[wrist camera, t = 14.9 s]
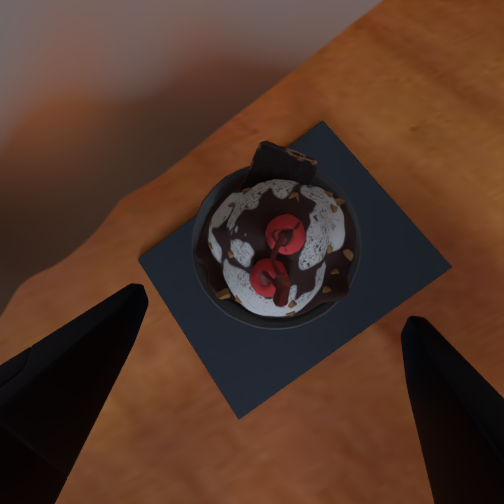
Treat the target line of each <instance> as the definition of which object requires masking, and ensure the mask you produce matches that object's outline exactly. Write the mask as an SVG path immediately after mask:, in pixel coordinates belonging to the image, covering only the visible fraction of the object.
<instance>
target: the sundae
mask: <svg viewBox="0 0 504 504" xmlns="http://www.w3.org/2000/svg"><path fill="white" fill-rule="evenodd" d="M361 249H362V242H361V231H360V226H359V222H358V217H357V215H356V213H355V211H354V208H353V206H352V204H351V202H350V201H349V199H348V197H347V196H346V194H345V193H344V191H343V189H341V188H340V187H339V186H338V185H337V184H336V183H335V182H334V181H333V180H332V179H331V178H329V177H328V176H326V175H325V174H323V173H322V172H320V171H319V170H317V161H316V160H315V159H313V158H311V157H308V156H306V155H304V154H302V153H299V152H297V151H295V150H292V149H289V148H285V147H281V146H278V145H276V144H274V143H271V142H269V141H263V142H260V144H259V146H258V148H257V150H256V153H255V155H254V157H253V160H252V162H251V165H250V166H248V167H245V168H242V169H240V170H237V171H235V172H234V173H232V174H230V175H228V176H226V177H224V178H223V179H222V180H221V181H220V182H219V183H218V184H217V185H216V186H215V187H213V189H212V190H211V191H210V192H209V194H208V195H207V196H206V197H205V199H204V200H203V202H202V204H201V206H200V209H199V211H198V213H197V216H196V219H195V223H194V226H193V233H192V260H193V267H194V270H195V273H196V276H197V279H198V281H199V283H200V285H201V287H202V289H203V291H204V293H205V294H206V295H207V296H208V297H209V298H210V300H211V301H212V302H213V303H214V304H215V305H216V306H217V307H218V308H219V309H221V310H222V311H223V312H224V313H225V314H226V315H228V316H230V317H232V318H234V319H236V320H238V321H240V322H242V323H244V324H247V325H250V326H253V327H255V328H262V329H269V330H280V329H289V328H295V327H299V326H302V325H304V324H307V323H309V322H312V321H313V320H315V319H317V318H319V317H321V316H322V315H324V314H326V313H327V312H328V311H329V310H331V309H332V308H333V307H334V306H335V305H336V304H337V303H338V302H339V301H341V300H344V299H345V298H346V297H347V296H348V294H349V291H350V287H351V285H352V283H353V280H354V278H355V276H356V273H357V271H358V267H359V264H360V260H361Z"/></svg>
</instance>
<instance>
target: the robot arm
mask: <svg viewBox="0 0 504 504" xmlns="http://www.w3.org/2000/svg"><path fill="white" fill-rule="evenodd" d="M147 307H148V297H147V295H146V292H145V289H144V286H143V285H141V284H134V283H132V284H129V285H127V286H126V287H124V288H123V289H121V290H119V291H118V292H116V293H115V294H113V295H112V296H110V297H108V298H107V299H105V300H104V301H102V302H100V303H99V304H97V305H96V306H94V307H93V308H91V309H89V310H88V311H86V312H85V313H83V314H81V315H80V316H78V317H77V318H75V319H74V320H72V321H70V322H69V323H67V324H66V325H64V326H62V327H61V328H59V329H58V330H56V331H55V332H53V333H51V334H50V335H48V336H47V337H45V338H43V339H42V340H40V341H39V342H37V343H35V344H34V345H32V347H29V348H27V349H26V350H24V351H23V352H21V353H20V354H18V355H16V356H15V357H13V358H11V359H10V360H8V361H6V362H5V363H3V364H2V365H0V504H55V502H56V500H57V498H58V496H59V494H60V492H61V490H62V488H63V486H64V484H65V482H66V480H67V477H68V476H69V474H70V472H71V470H72V468H73V466H74V464H75V462H76V460H77V458H78V456H79V454H80V452H81V449H82V447H83V445H84V443H85V441H86V439H87V437H88V435H89V433H90V431H91V429H92V427H93V425H94V423H95V421H96V419H97V417H98V415H99V413H100V411H101V409H102V407H103V405H104V403H105V401H106V399H107V397H108V395H109V393H110V391H111V389H112V387H113V385H114V383H115V381H116V379H117V377H118V375H119V373H120V371H121V369H122V367H123V365H124V363H125V361H126V359H127V357H128V355H129V353H130V351H131V349H132V347H133V345H134V342H135V340H136V337H137V334H138V332H139V329H140V326H141V324H142V321H143V318H144V316H145V313H146V310H147ZM401 343H402V352H403V360H404V369H405V377H406V384H407V389H408V394H409V398H410V402H411V407H412V411H413V415H414V419H415V423H416V428H417V432H418V436H419V440H420V444H421V449H422V453H423V457H424V461H425V465H426V470H427V474H428V478H429V482H430V486H431V491H432V495H433V499H434V503H435V504H504V398H503V397H502V396H501V395H500V394H499V393H498V392H497V391H496V390H495V389H494V388H493V387H492V386H491V385H490V384H489V383H488V382H487V381H486V380H485V379H484V378H483V377H482V376H481V375H480V374H479V373H478V372H477V370H476V369H475V368H474V367H473V366H472V365H471V364H470V363H469V362H468V361H467V360H466V359H465V358H464V357H463V356H462V355H461V354H460V353H459V352H458V351H457V350H456V349H455V348H454V347H453V346H452V345H451V344H450V343H449V342H448V341H447V340H446V339H445V338H444V337H443V336H442V335H441V334H440V332H439V331H438V330H437V329H436V328H435V327H434V326H433V325H432V324H431V323H430V322H429V321H428V320H427V319H426V318H424V317H419V316H410V317H409V318H408V320H407V322H406V324H405V326H404V328H403V330H402V333H401Z"/></svg>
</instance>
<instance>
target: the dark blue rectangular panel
mask: <svg viewBox="0 0 504 504" xmlns="http://www.w3.org/2000/svg"><path fill="white" fill-rule="evenodd" d="M287 148H289V149H292V150H295V151H297V152H299V153H302V154H304V155H306V156H308V157H311V158H313V159H315V160H316V161H317V170H319V171H320V172H322V173H323V174H325V175H326V176H328V177H329V178H331V179H332V180H333V181H334V182H335V183H336V184H337V185H338V186H339V187H340V188H341V189H343V191H344V193H345V194H346V196H347V197H348V199H349V201H350V202H351V204H352V206H353V208H354V211H355V213H356V215H357V217H358V222H359V226H360V231H361V242H362V249H361V260H360V264H359V267H358V271H357V273H356V276H355V278H354V280H353V283H352V285H351V287H350V291H349V294H348V296H347V297H346V298H345V299H344V300H341V301H339V302H338V303H337V304H336V305H335V306H334V307H333V308H332V309H331V310H329V311H328V312H327V313H326V314H324V315H322V316H321V317H319V318H317V319H315V320H313V321H312V322H309V323H307V324H304V325H302V326H299V327H295V328H289V329H280V330H269V329H262V328H255V327H253V326H250V325H247V324H244V323H242V322H240V321H238V320H236V319H234V318H232V317H230V316H228V315H226V314H225V313H224V312H223V311H222V310H221V309H219V308H218V307H217V306H216V305H215V304H214V303H213V302H212V301H211V300H210V298H209V297H208V296H207V295H206V294H205V293H204V291H203V289H202V287H201V285H200V283H199V281H198V279H197V276H196V273H195V270H194V267H193V260H192V233H193V226H194V223H195V219H196V216H197V215H196V216H195V217H194V218H192V219H191V220H190V221H188V222H187V223H186V224H184V225H183V226H182V227H180V228H179V229H178V230H176V231H175V232H174V233H172V234H171V235H170V236H168V237H167V238H165V239H164V240H163V241H161V242H160V243H159V244H157V245H156V246H155V247H153V248H152V249H151V250H149V251H148V252H147V253H145V254H144V255H143V256H141V257H140V258H139V259H138V261H139V262H140V264H141V266H142V267H143V269H144V270H145V272H146V273H147V275H148V277H149V278H150V280H151V281H152V283H153V285H154V286H155V288H156V289H157V291H158V292H159V294H160V296H161V297H162V299H163V300H164V302H165V304H166V305H167V307H168V308H169V310H170V311H171V313H172V315H173V316H174V318H175V319H176V321H177V323H178V324H179V326H180V327H181V329H182V330H183V332H184V334H185V335H186V337H187V338H188V340H189V342H190V343H191V345H192V346H193V348H194V349H195V351H196V353H197V354H198V356H199V357H200V359H201V361H202V362H203V364H204V365H205V367H206V368H207V370H208V372H209V373H210V375H211V376H212V378H213V380H214V381H215V383H216V384H217V386H218V387H219V389H220V391H221V392H222V394H223V395H224V397H225V399H226V400H227V402H228V403H229V405H230V406H231V408H232V410H233V411H234V413H235V414H236V416H237V418H238V419H241V418H242V417H243V416H245V415H246V414H248V413H249V412H250V411H252V410H253V409H255V408H256V407H257V406H259V405H260V404H261V403H263V402H264V401H266V400H267V399H268V398H270V397H271V396H273V395H274V394H275V393H277V392H278V391H280V390H281V389H282V388H284V387H285V386H287V385H288V384H289V383H291V382H292V381H294V380H295V379H296V378H298V377H299V376H301V375H302V374H303V373H305V372H306V371H308V370H309V369H310V368H312V367H313V366H315V365H316V364H317V363H319V362H320V361H322V360H323V359H324V358H326V357H327V356H329V355H330V354H331V353H333V352H334V351H335V350H337V349H338V348H340V347H341V346H342V345H344V344H345V343H347V342H348V341H349V340H351V339H352V338H354V337H355V336H356V335H358V334H359V333H361V332H362V331H363V330H365V329H366V328H368V327H369V326H370V325H372V324H373V323H375V322H376V321H377V320H379V319H380V318H382V317H383V316H384V315H386V314H387V313H389V312H390V311H391V310H393V309H394V308H396V307H397V306H398V305H400V304H401V303H403V302H404V301H405V300H407V299H408V298H410V297H411V296H412V295H414V294H415V293H416V292H418V291H419V290H421V289H422V288H423V287H425V286H426V285H428V284H429V283H430V282H432V281H433V280H435V279H436V278H437V277H439V276H440V275H442V274H443V273H444V272H446V271H447V270H449V269H450V268H451V265H450V264H449V263H448V262H447V261H446V260H445V259H444V257H443V256H442V255H441V254H440V253H439V252H438V251H437V249H436V248H435V247H434V246H433V245H432V244H431V243H430V242H429V240H428V239H427V238H426V237H425V236H424V235H423V234H422V232H421V231H420V230H419V229H418V228H417V227H416V226H415V224H414V223H413V222H412V221H411V220H410V219H409V218H408V217H407V215H406V214H405V213H404V212H403V211H402V210H401V209H400V207H399V206H398V205H397V204H396V203H395V202H394V201H393V199H392V198H391V197H390V196H389V195H388V194H387V193H386V192H385V190H384V189H383V188H382V187H381V186H380V185H379V184H378V182H377V181H376V180H375V179H374V178H373V177H372V176H371V174H370V173H369V172H368V171H367V170H366V169H365V168H364V167H363V165H362V164H361V163H360V162H359V161H358V160H357V159H356V157H355V156H354V155H353V154H352V153H351V152H350V151H349V149H348V148H347V147H346V146H345V145H344V144H343V143H342V142H341V140H340V139H339V138H338V137H337V136H336V135H335V134H334V132H333V131H332V130H331V129H330V128H329V127H328V126H327V124H326V123H325V122H324V121H322V122H321V123H319V124H318V125H317V126H315V127H314V128H313V129H311V130H310V131H309V132H307V133H306V134H305V135H303V136H302V137H301V138H299V139H298V140H297V141H295V142H294V143H293V144H291V145H290V146H289V147H287Z"/></svg>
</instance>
